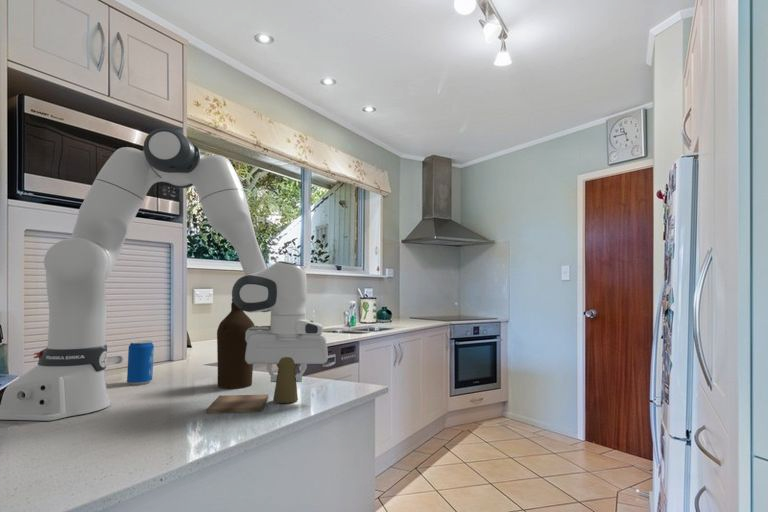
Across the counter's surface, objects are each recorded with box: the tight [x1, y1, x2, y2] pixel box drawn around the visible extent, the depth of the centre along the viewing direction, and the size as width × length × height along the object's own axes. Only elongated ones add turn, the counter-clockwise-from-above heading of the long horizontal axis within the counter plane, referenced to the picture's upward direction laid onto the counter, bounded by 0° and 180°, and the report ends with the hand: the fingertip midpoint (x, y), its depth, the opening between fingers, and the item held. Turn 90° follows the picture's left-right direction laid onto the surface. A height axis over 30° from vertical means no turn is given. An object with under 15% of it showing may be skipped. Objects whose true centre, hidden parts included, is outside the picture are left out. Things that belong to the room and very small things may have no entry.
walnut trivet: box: [206, 393, 269, 414], centre depth 105 cm, size 12×12×1 cm
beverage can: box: [126, 340, 155, 386], centre depth 129 cm, size 6×6×12 cm
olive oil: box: [216, 298, 255, 390], centre depth 127 cm, size 11×11×25 cm
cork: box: [273, 357, 299, 404], centre depth 110 cm, size 6×6×11 cm
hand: (286, 381), depth 110 cm, fingers closed on cork, 5 cm apart
